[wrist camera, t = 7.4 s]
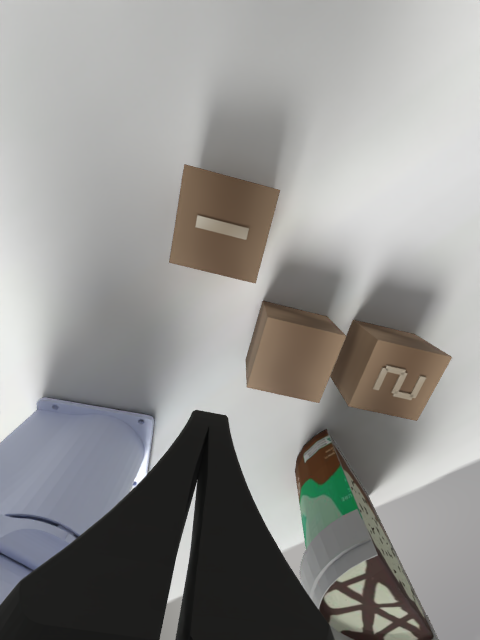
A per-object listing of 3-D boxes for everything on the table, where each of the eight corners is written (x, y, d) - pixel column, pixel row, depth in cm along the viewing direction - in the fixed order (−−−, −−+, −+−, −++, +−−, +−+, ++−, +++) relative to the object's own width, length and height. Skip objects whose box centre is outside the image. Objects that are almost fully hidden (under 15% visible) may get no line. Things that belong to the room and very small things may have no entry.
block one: (183, 255, 19) (168, 262, 15) (196, 178, 17) (184, 163, 13) (252, 272, 19) (255, 283, 15) (271, 198, 18) (280, 189, 14)
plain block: (245, 359, 21) (246, 387, 18) (262, 300, 20) (267, 316, 16) (305, 372, 22) (319, 403, 18) (326, 315, 20) (346, 335, 16)
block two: (329, 375, 22) (349, 407, 18) (352, 318, 20) (378, 340, 16) (386, 388, 22) (417, 421, 18) (413, 333, 21) (453, 357, 17)
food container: (256, 446, 24) (267, 588, 15) (318, 416, 23) (373, 548, 14) (318, 528, 27) (358, 686, 18) (374, 505, 26) (449, 660, 17)
